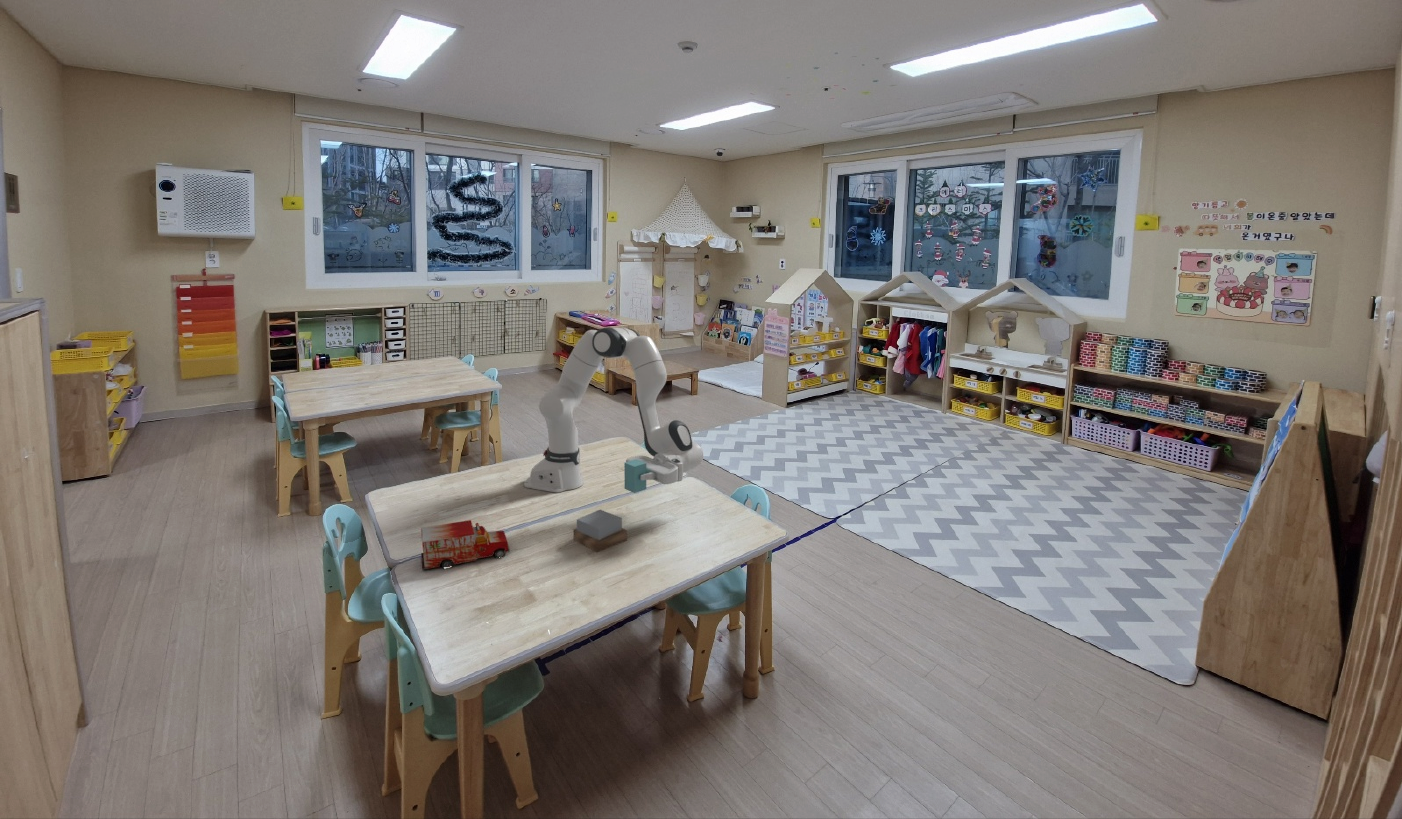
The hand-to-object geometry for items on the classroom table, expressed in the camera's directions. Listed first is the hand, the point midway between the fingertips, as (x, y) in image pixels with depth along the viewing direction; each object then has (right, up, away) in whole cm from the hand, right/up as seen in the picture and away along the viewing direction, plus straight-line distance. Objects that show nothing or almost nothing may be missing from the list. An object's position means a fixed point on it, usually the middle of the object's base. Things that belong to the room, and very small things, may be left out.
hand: (633, 475), depth 214 cm
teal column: (+1, -5, +2) cm, 5 cm away
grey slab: (-10, -17, -3) cm, 20 cm away
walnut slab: (-10, -21, -1) cm, 24 cm away
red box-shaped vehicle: (-49, -24, -14) cm, 56 cm away
